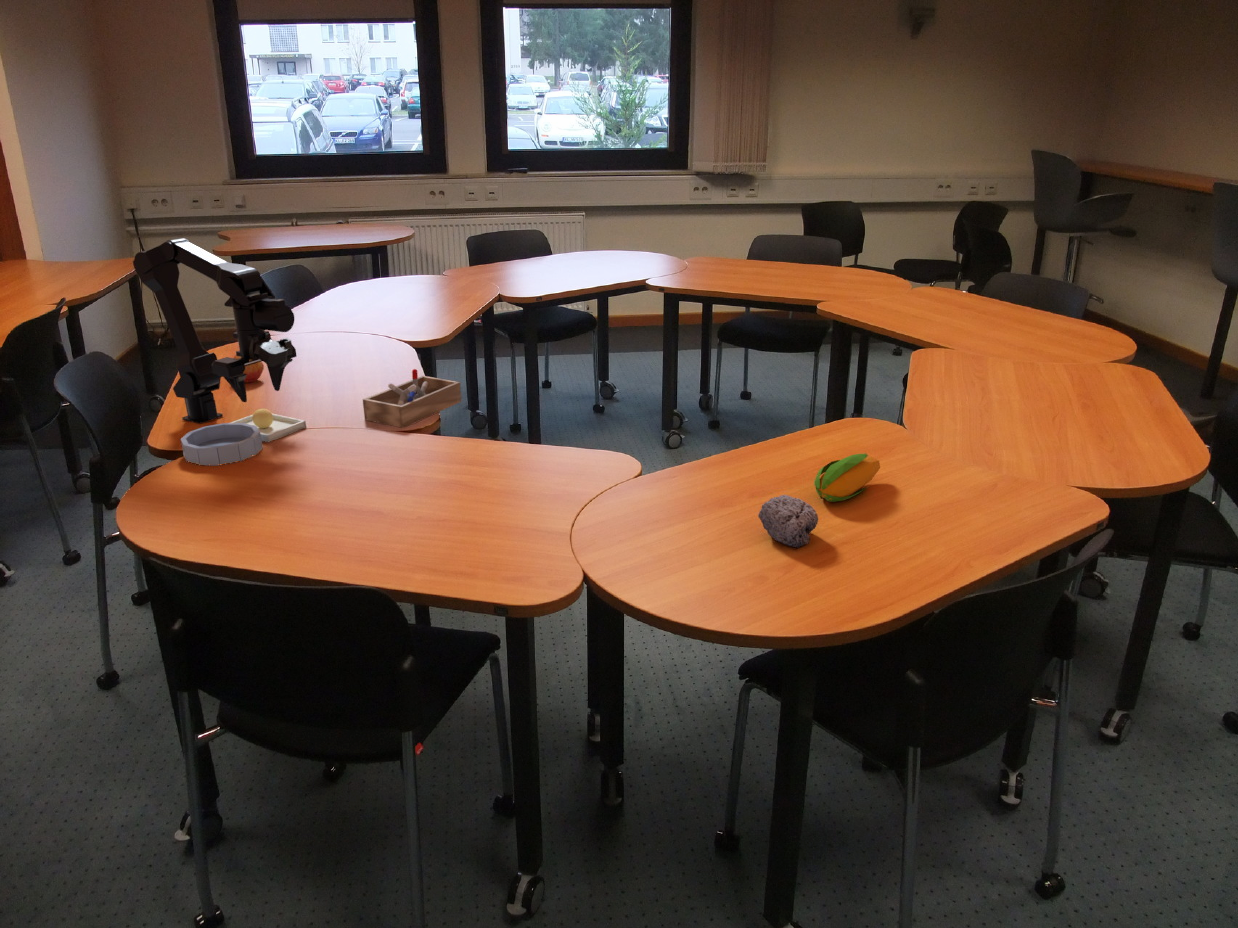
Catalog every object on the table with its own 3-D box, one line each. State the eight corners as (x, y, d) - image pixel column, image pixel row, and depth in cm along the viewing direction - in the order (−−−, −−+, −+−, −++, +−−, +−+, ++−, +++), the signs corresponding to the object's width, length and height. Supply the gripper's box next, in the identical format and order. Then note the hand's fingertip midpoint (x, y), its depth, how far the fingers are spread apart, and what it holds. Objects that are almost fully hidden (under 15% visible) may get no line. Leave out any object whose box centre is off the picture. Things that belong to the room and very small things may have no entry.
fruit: (268, 376, 243) (264, 347, 240) (261, 385, 236) (257, 355, 233) (238, 377, 242) (233, 348, 239) (230, 386, 235) (225, 356, 232)
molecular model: (415, 424, 208) (421, 383, 205) (380, 415, 208) (386, 374, 205) (438, 407, 225) (444, 368, 222) (405, 399, 225) (411, 360, 222)
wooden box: (364, 419, 211) (362, 399, 209) (424, 394, 228) (422, 375, 227) (403, 427, 206) (401, 407, 204) (461, 401, 223) (459, 382, 222)
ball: (251, 429, 204) (245, 412, 201) (265, 421, 207) (260, 404, 205) (265, 432, 202) (259, 415, 200) (279, 424, 205) (274, 407, 203)
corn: (806, 464, 166) (862, 436, 179) (800, 500, 169) (856, 471, 183) (841, 477, 162) (896, 448, 175) (834, 515, 165) (889, 483, 178)
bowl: (169, 457, 189) (165, 440, 188) (228, 435, 201) (225, 419, 200) (218, 470, 182) (215, 453, 181) (276, 446, 195) (274, 430, 193)
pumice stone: (821, 561, 152) (810, 521, 160) (829, 527, 148) (817, 488, 155) (760, 560, 152) (752, 520, 160) (766, 526, 147) (758, 487, 155)
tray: (224, 431, 203) (223, 425, 203) (262, 417, 212) (261, 411, 212) (268, 442, 197) (267, 435, 196) (306, 427, 206) (305, 420, 205)
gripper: (241, 341, 184) (253, 413, 190) (309, 322, 200) (318, 390, 206) (204, 335, 189) (216, 406, 195) (273, 317, 205) (283, 383, 210)
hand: (261, 396), depth 201 cm, fingers open, 9 cm apart
